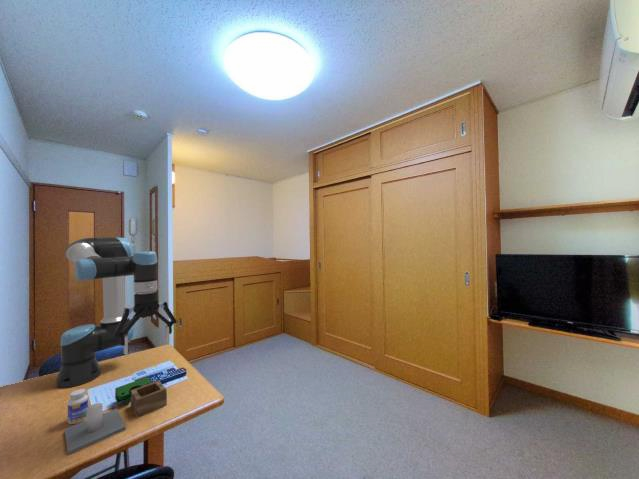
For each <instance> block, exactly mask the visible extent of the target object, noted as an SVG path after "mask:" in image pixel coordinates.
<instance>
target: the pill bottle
mask: <svg viewBox="0 0 639 479" xmlns="http://www.w3.org/2000/svg"><path fill="white" fill-rule="evenodd" d="M69 398H70V399H69V400H68V402H67V423H68V425H76V424H79V423H81V422H84V421H86V420H87V408H88V407H89V396H88V395H87V394H86V388H81V389H79V388H78V389H76V390H74V391H71V393H70V396H69Z"/></svg>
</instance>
